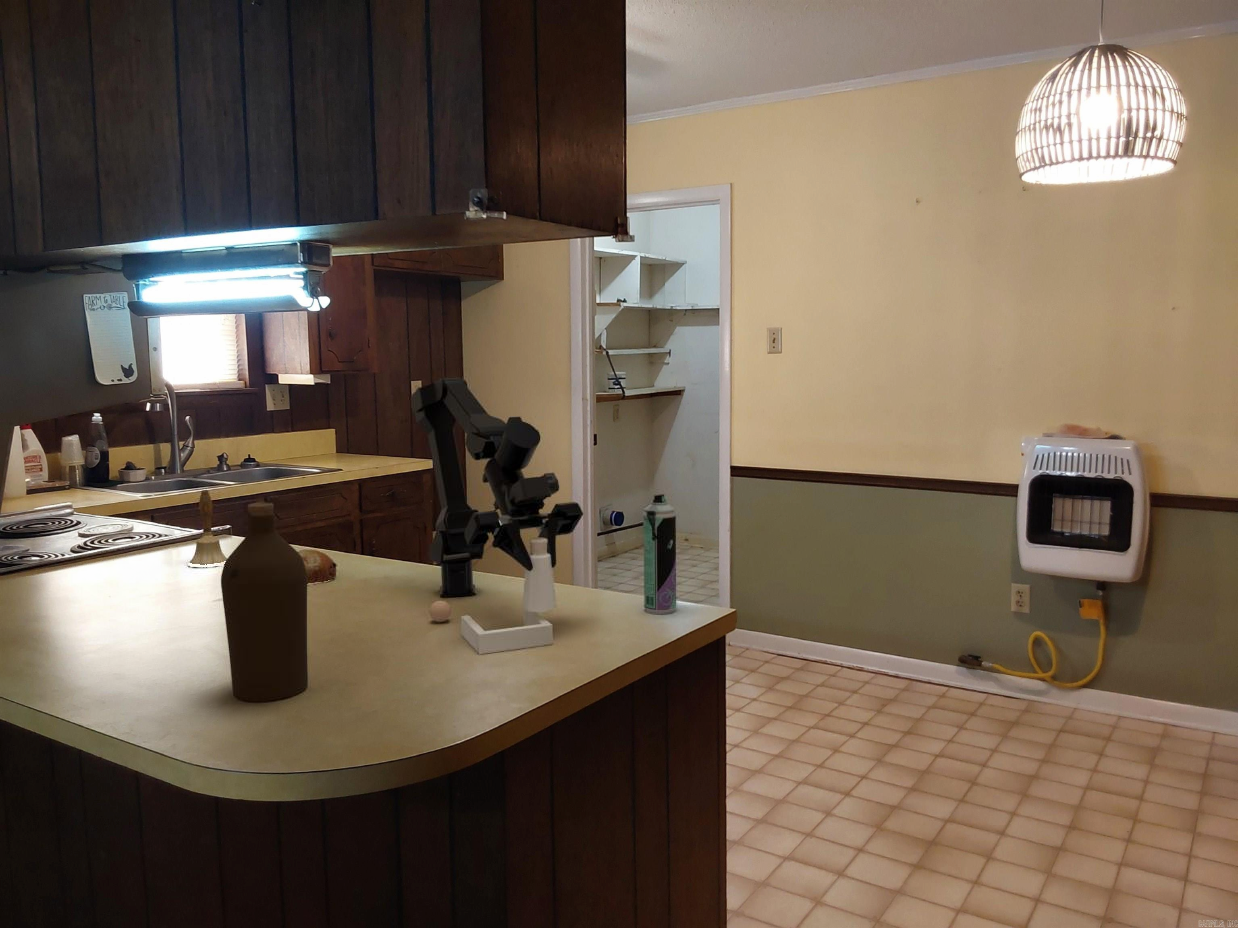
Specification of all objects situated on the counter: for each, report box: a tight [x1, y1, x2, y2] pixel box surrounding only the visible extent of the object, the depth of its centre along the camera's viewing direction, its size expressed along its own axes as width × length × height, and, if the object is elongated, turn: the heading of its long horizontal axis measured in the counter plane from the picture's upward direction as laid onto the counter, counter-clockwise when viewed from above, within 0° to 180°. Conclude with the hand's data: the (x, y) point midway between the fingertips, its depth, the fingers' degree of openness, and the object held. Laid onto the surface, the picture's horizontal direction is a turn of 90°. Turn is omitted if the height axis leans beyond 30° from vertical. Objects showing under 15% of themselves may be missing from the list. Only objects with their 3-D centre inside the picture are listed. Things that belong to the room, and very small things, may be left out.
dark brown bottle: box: [220, 501, 309, 703], centre depth 126 cm, size 11×11×25 cm
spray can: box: [642, 493, 677, 615], centre depth 163 cm, size 6×6×20 cm
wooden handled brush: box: [189, 489, 228, 565], centre depth 204 cm, size 8×8×16 cm
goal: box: [460, 608, 554, 655], centre depth 149 cm, size 11×11×3 cm
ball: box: [429, 600, 452, 623], centre depth 159 cm, size 4×4×4 cm
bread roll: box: [297, 548, 338, 584], centre depth 189 cm, size 10×10×8 cm
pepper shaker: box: [521, 536, 558, 614], centre depth 149 cm, size 5×5×11 cm
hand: (542, 567), depth 148 cm, fingers closed on pepper shaker, 4 cm apart
